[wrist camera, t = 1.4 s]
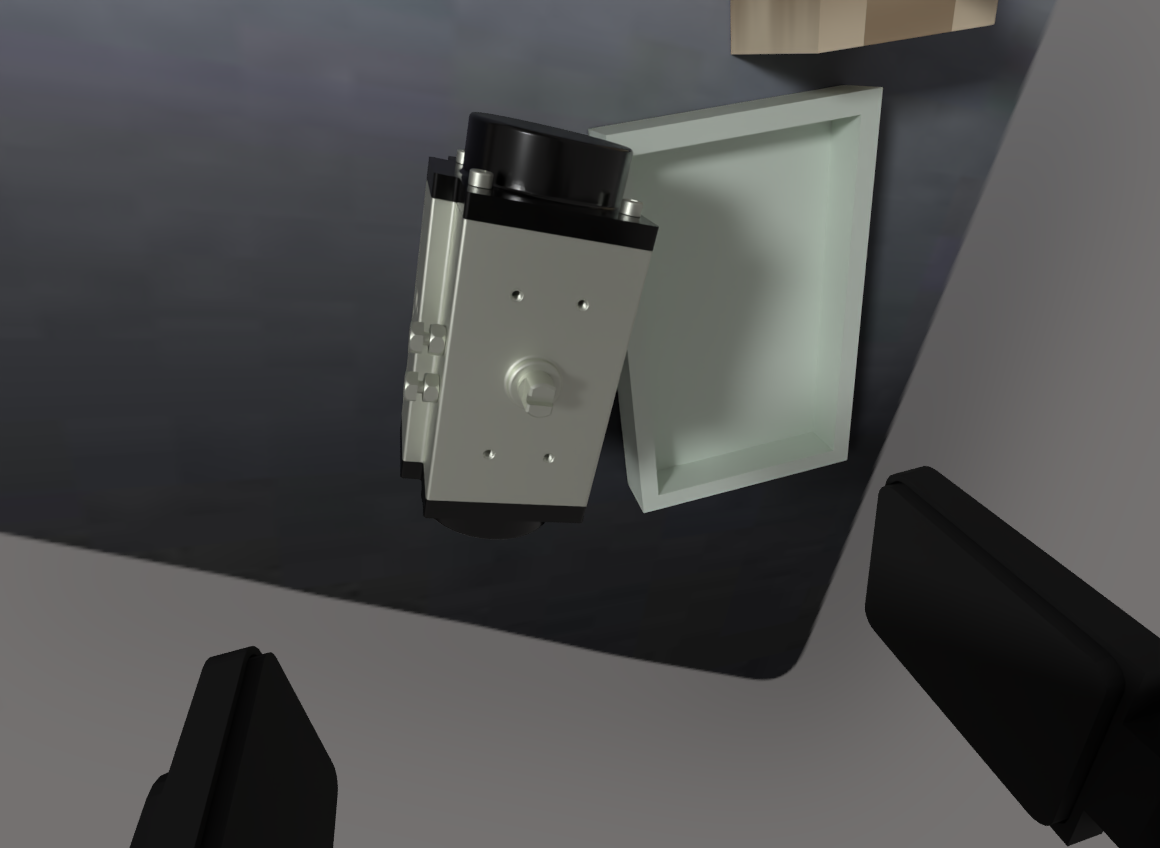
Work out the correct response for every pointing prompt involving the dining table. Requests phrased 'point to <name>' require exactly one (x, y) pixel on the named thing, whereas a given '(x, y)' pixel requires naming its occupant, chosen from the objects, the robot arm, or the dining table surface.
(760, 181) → the tray
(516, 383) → the pneumatic valve
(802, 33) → the bore block
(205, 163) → the dining table surface
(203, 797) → the robot arm
